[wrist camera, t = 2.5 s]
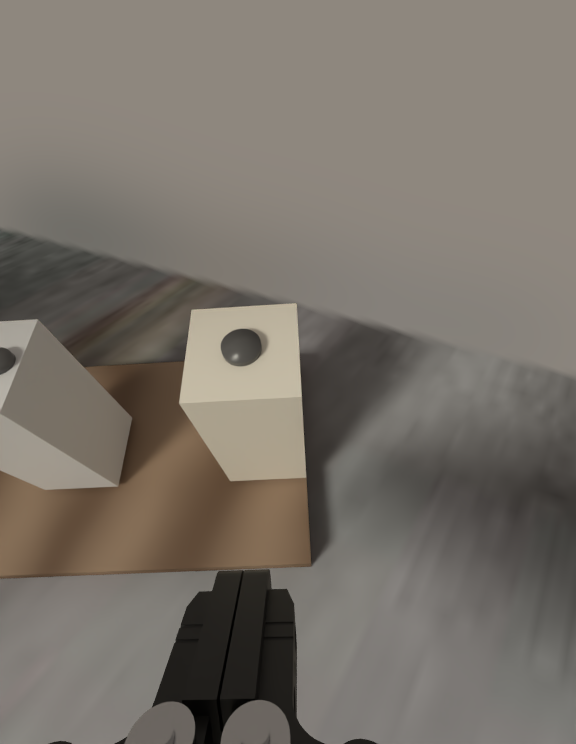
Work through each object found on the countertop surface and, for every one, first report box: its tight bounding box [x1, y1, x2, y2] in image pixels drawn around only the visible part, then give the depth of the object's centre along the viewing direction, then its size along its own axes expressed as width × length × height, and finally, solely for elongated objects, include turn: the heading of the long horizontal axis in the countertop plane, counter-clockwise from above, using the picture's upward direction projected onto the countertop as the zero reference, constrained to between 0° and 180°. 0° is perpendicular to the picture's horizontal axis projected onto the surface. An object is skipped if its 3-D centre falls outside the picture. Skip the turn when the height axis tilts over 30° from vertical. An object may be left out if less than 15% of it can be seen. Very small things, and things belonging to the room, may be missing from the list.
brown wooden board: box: [0, 361, 311, 579], centre depth 22 cm, size 24×12×2 cm, turn 92°
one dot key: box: [179, 303, 306, 481], centre depth 17 cm, size 4×4×9 cm
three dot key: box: [0, 319, 132, 490], centre depth 17 cm, size 4×4×9 cm
